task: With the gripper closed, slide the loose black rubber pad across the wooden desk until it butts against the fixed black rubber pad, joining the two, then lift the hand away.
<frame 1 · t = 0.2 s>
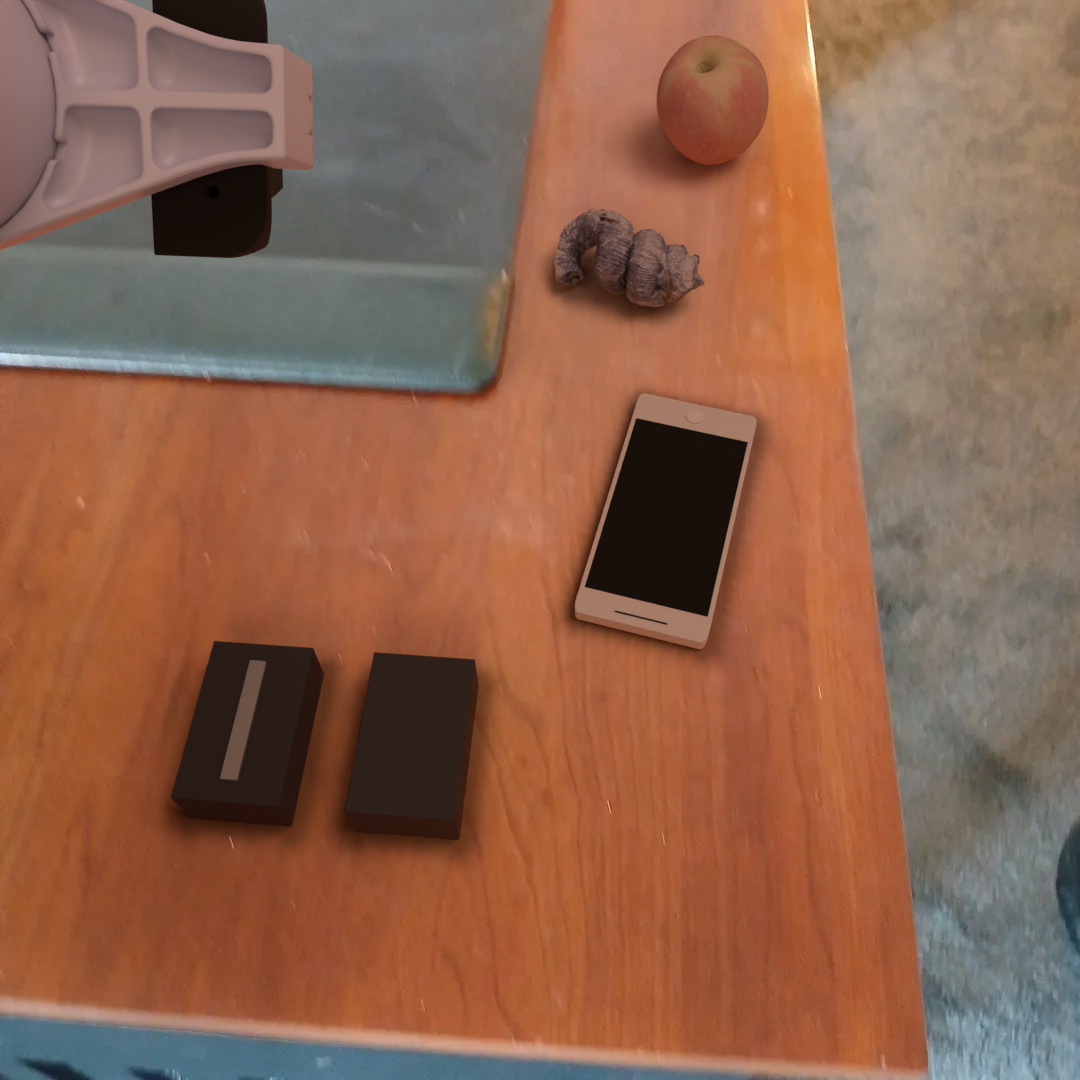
hand: (132, 148, 29), 31 cm above the table, tool tilted 45°, fingers open, 7 cm apart
smartphone: (668, 518, 59), on the table
pad: (419, 755, 52), on the table
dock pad: (259, 743, 52), on the table
apple: (704, 154, 77), on the table
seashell: (627, 289, 69), on the table
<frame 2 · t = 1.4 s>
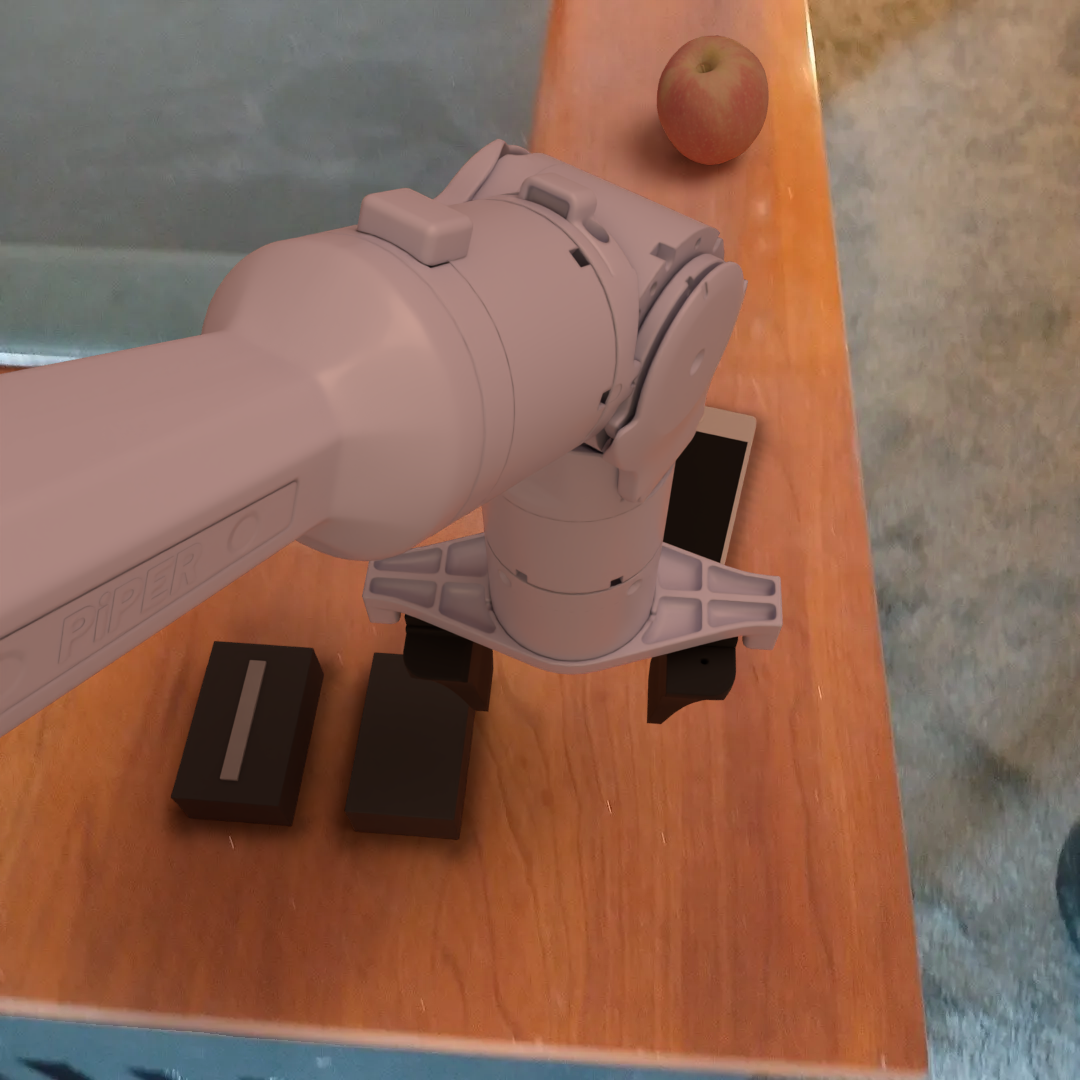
hand: (568, 695, 45), 8 cm above the table, tool pointing down, fingers open, 7 cm apart
nothing on the table moved.
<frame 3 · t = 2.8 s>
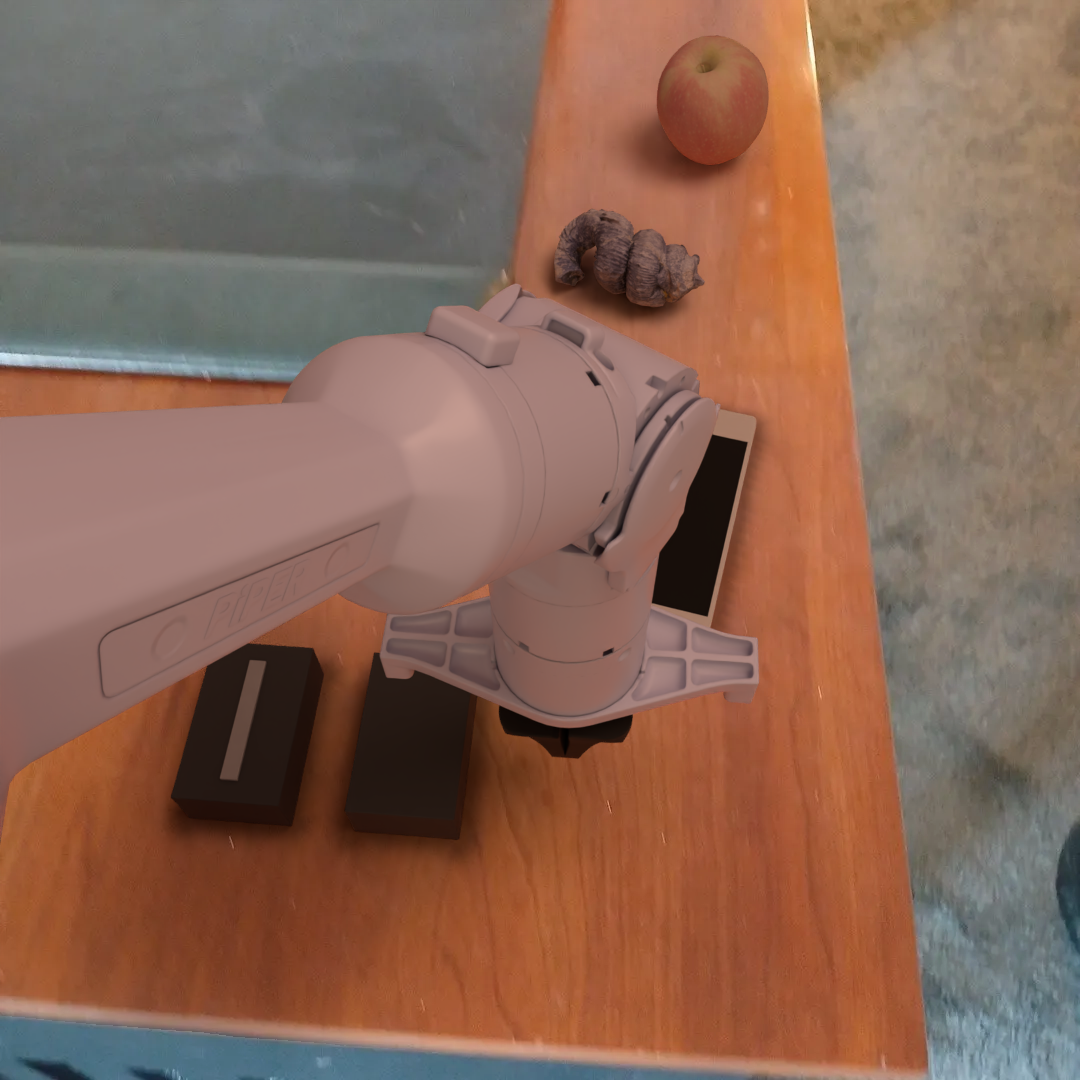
hand: (566, 737, 49), 4 cm above the table, tool pointing down, fingers closed
nothing on the table moved.
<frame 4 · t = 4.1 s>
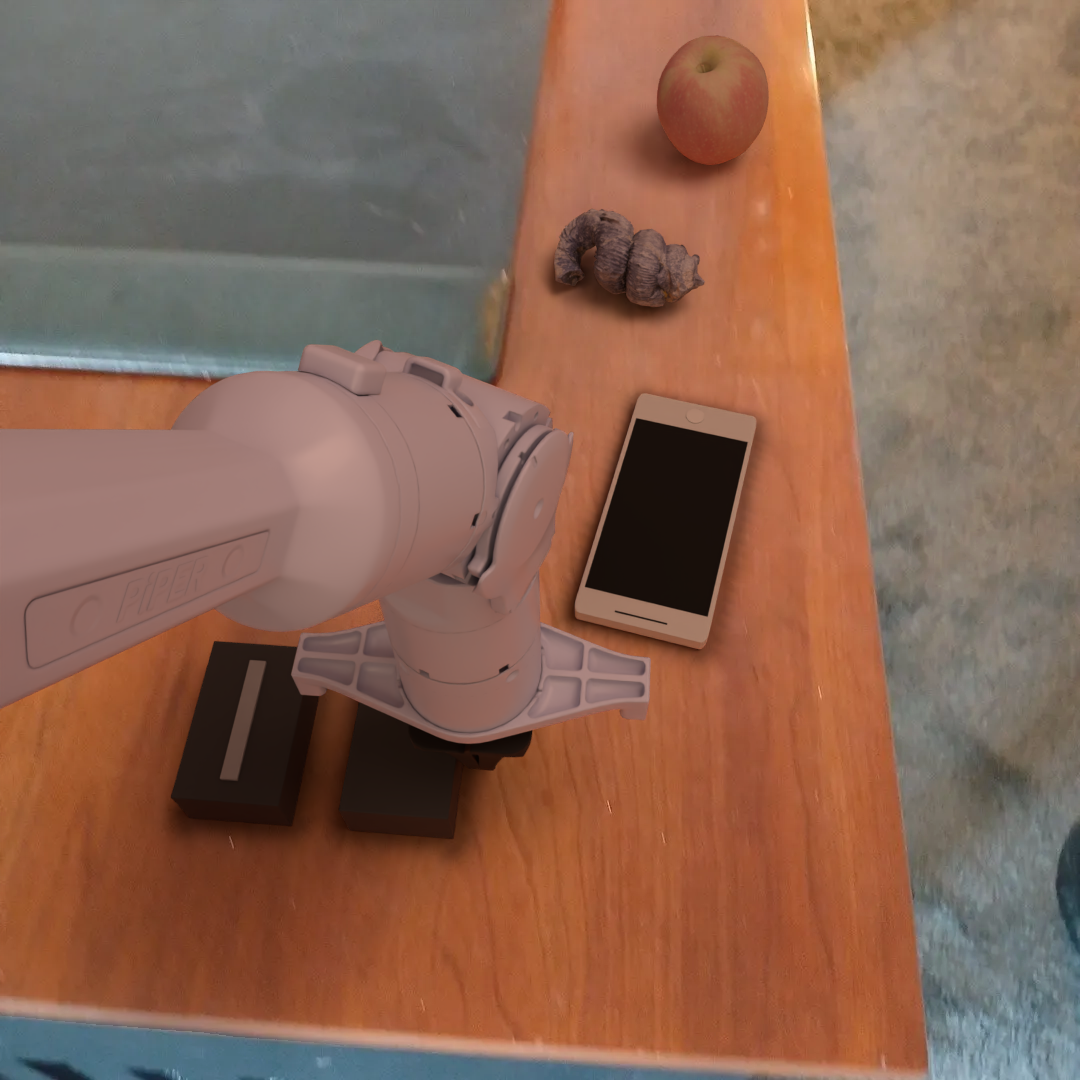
hand: (483, 749, 51), 1 cm above the table, tool pointing down, fingers closed
pad: (413, 754, 52), on the table, touching gripper
everything else where it was.
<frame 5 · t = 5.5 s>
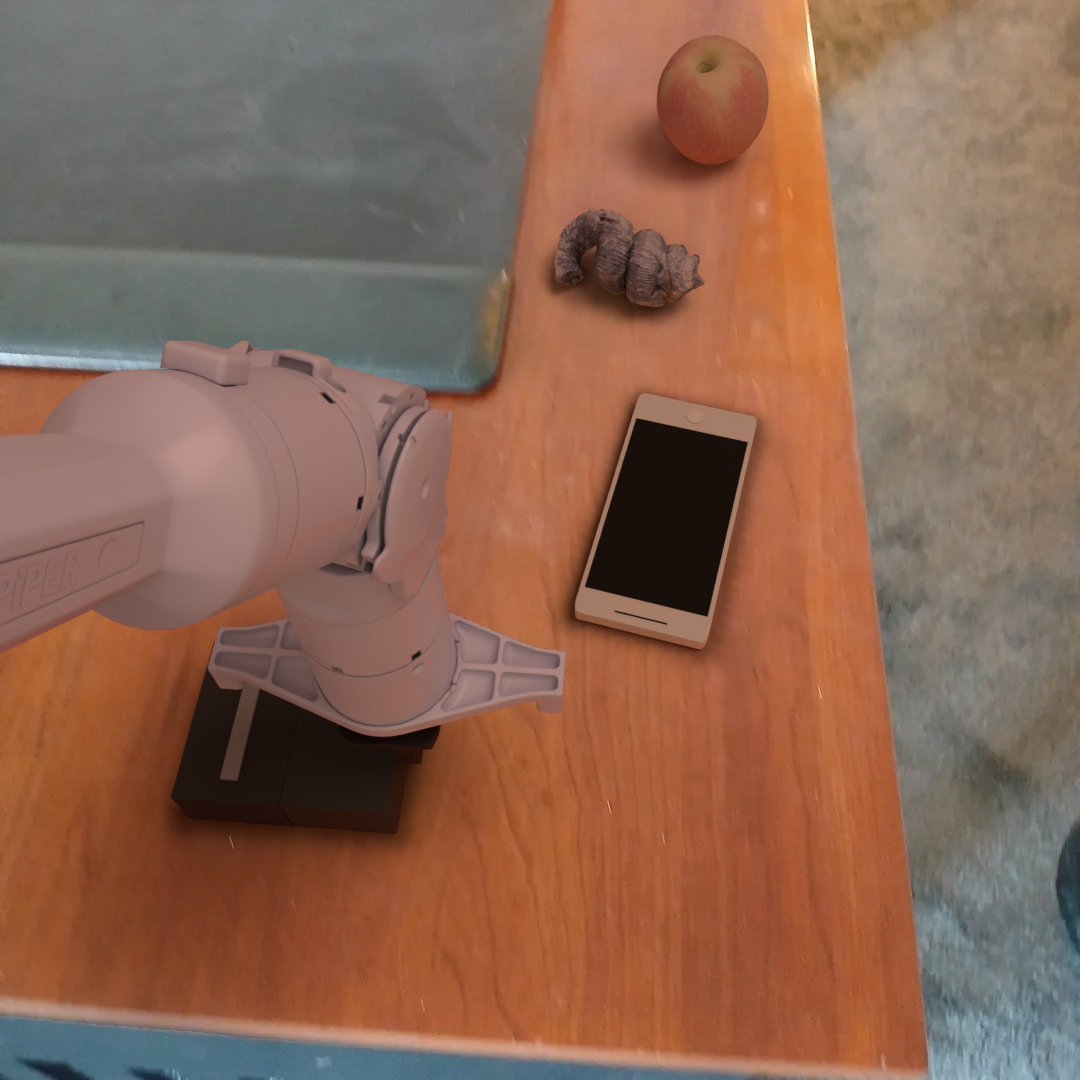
hand: (413, 744, 51), 1 cm above the table, tool pointing down, fingers closed, pressing on pad
pad: (359, 749, 52), on the table, touching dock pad, gripper
everything else where it was.
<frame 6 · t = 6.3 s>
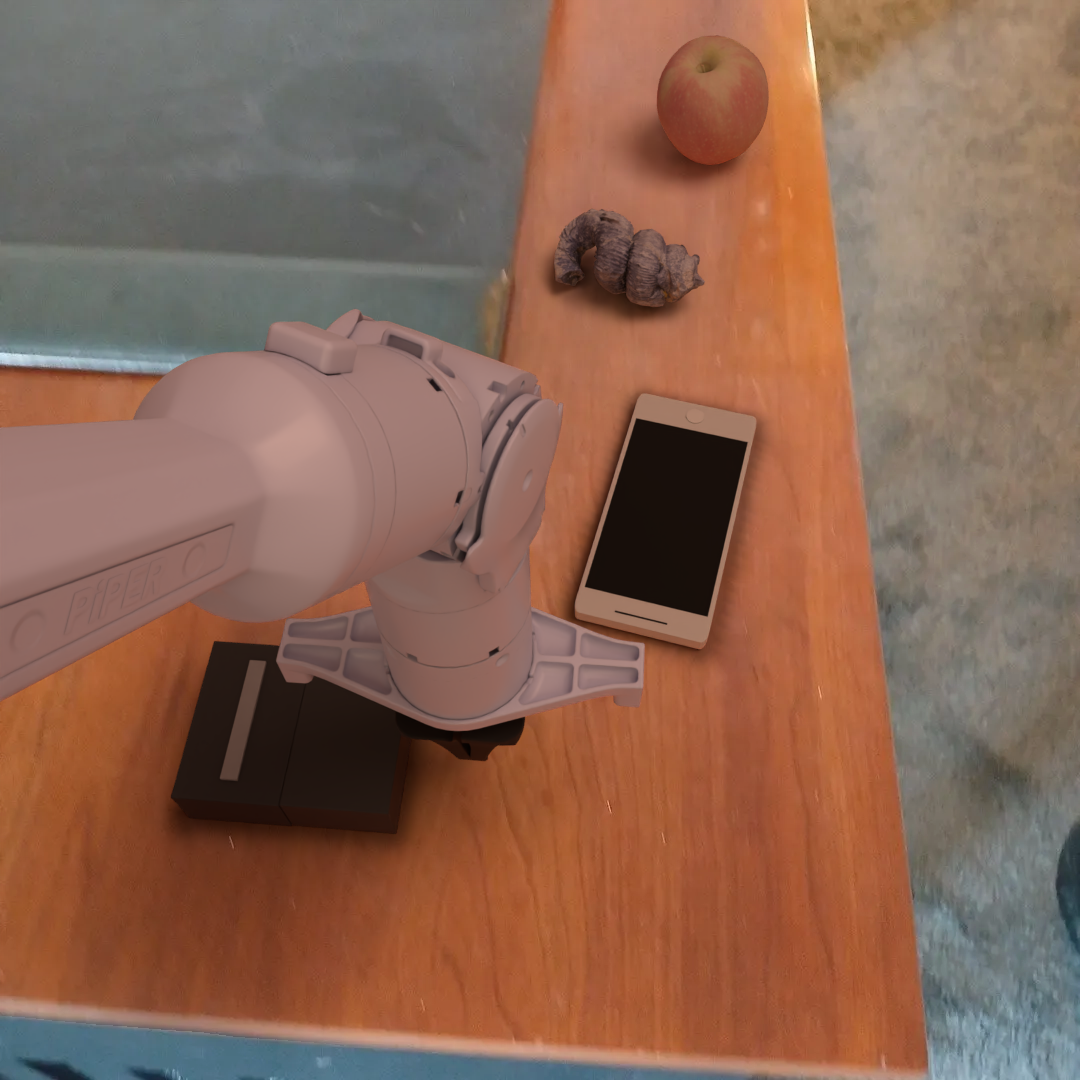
hand: (475, 740, 50), 3 cm above the table, tool pointing down, fingers closed
pad: (359, 750, 52), on the table
everything else where it was.
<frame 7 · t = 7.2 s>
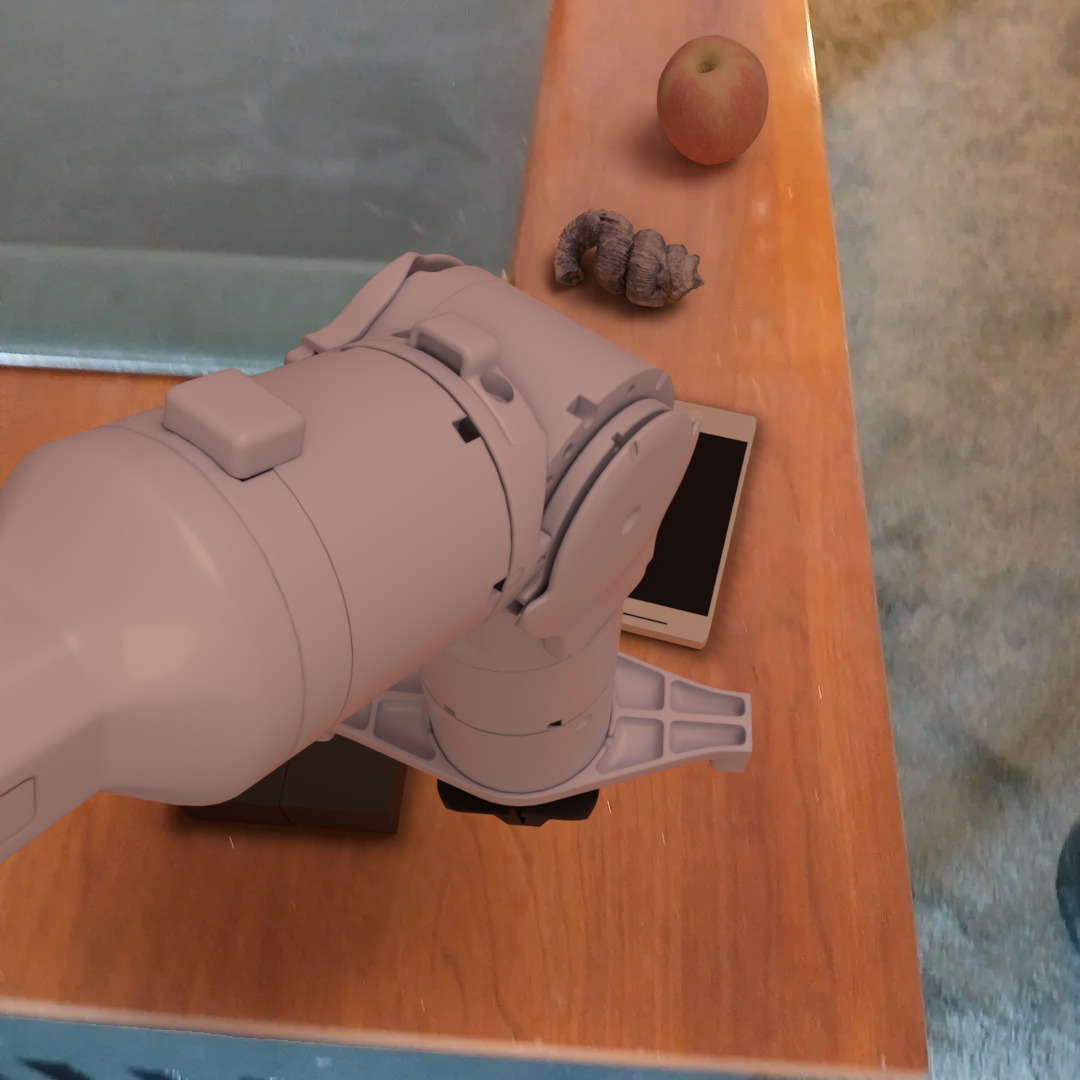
hand: (527, 800, 41), 9 cm above the table, tool pointing down, fingers closed
nothing on the table moved.
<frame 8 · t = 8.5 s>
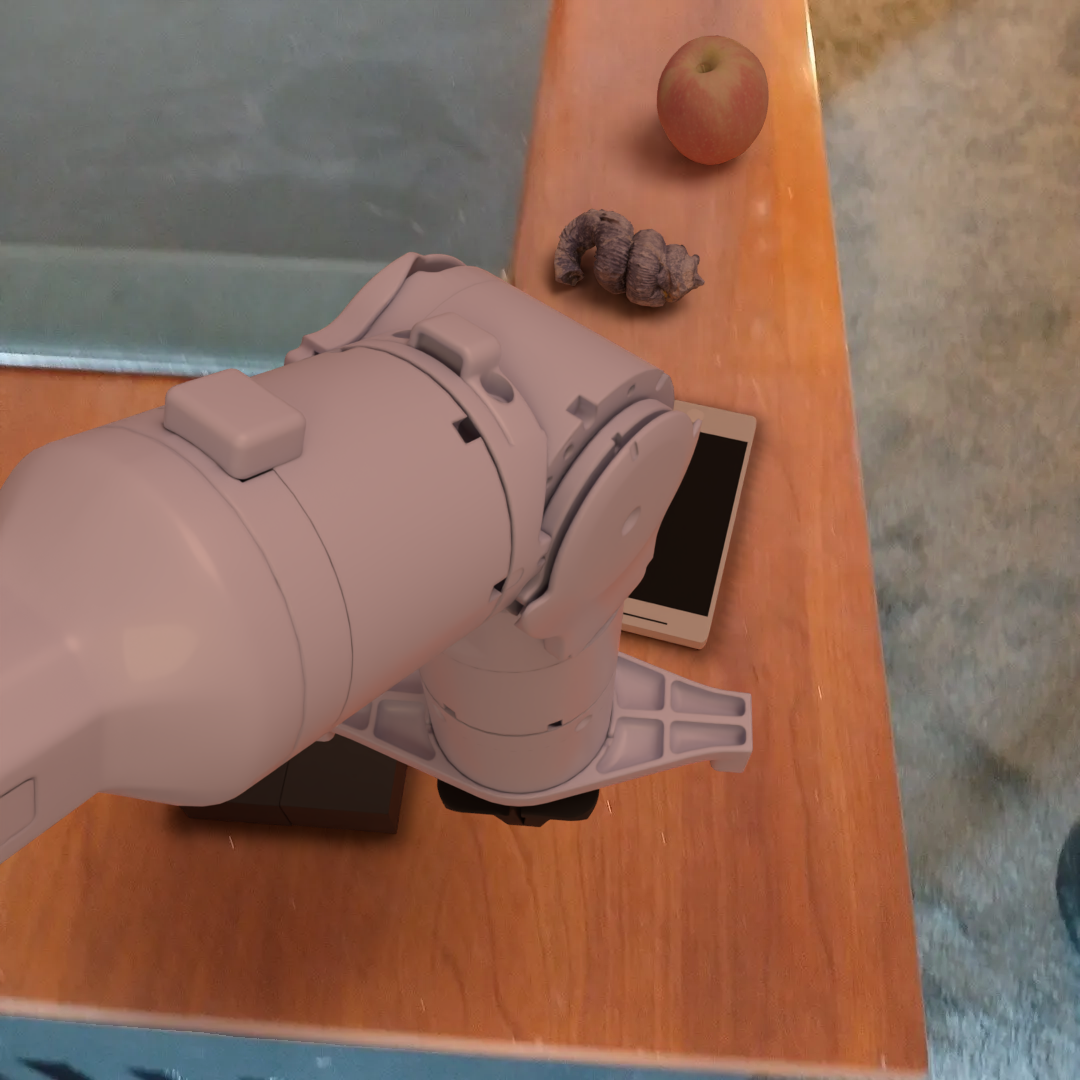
hand: (527, 800, 41), 9 cm above the table, tool pointing down, fingers closed
nothing on the table moved.
at the end: pad 0.7 cm from the target spot on the table beside the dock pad, on the table; apple moved 0.2 cm from its start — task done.
